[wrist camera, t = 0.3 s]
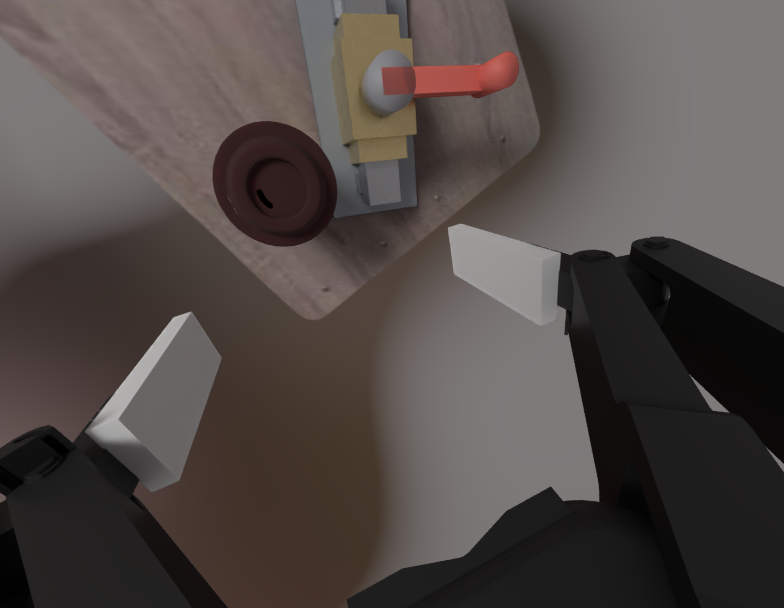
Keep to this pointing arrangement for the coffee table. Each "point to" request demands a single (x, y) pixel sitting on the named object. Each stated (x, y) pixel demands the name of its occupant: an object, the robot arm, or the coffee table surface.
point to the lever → (431, 80)
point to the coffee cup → (274, 183)
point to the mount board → (318, 56)
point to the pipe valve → (357, 122)
